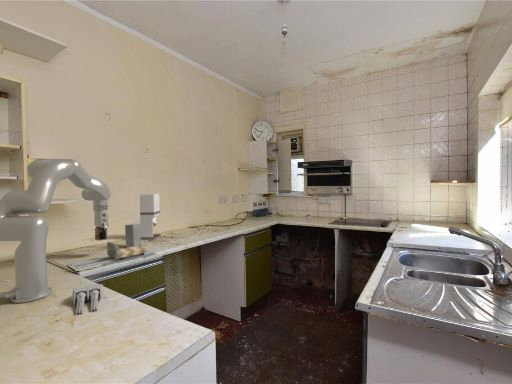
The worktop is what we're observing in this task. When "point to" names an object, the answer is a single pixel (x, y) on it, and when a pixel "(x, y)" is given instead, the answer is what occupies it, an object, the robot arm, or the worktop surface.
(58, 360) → the worktop surface
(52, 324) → the worktop surface
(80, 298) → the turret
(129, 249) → the multicoloured piece
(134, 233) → the skincare box
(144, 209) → the white square column
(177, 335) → the worktop surface
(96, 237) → the walnut block
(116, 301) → the worktop surface
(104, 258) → the rail track
